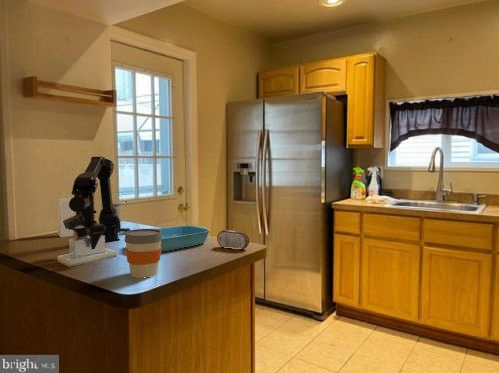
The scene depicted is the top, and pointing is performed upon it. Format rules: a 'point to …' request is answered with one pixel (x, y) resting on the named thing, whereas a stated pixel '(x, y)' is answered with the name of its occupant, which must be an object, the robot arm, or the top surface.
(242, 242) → the portable speaker
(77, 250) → the white rectangular block
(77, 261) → the tray
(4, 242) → the top surface
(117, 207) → the milk frother
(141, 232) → the reusable coffee cup
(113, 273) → the top surface
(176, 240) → the casserole dish
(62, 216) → the milk
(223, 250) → the top surface
